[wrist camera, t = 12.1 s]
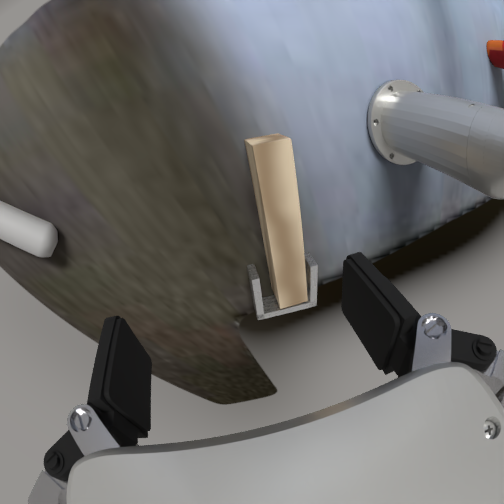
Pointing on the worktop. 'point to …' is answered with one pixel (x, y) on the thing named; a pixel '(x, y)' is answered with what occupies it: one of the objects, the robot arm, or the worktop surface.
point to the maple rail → (279, 215)
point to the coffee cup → (496, 52)
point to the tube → (27, 231)
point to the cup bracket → (269, 304)
